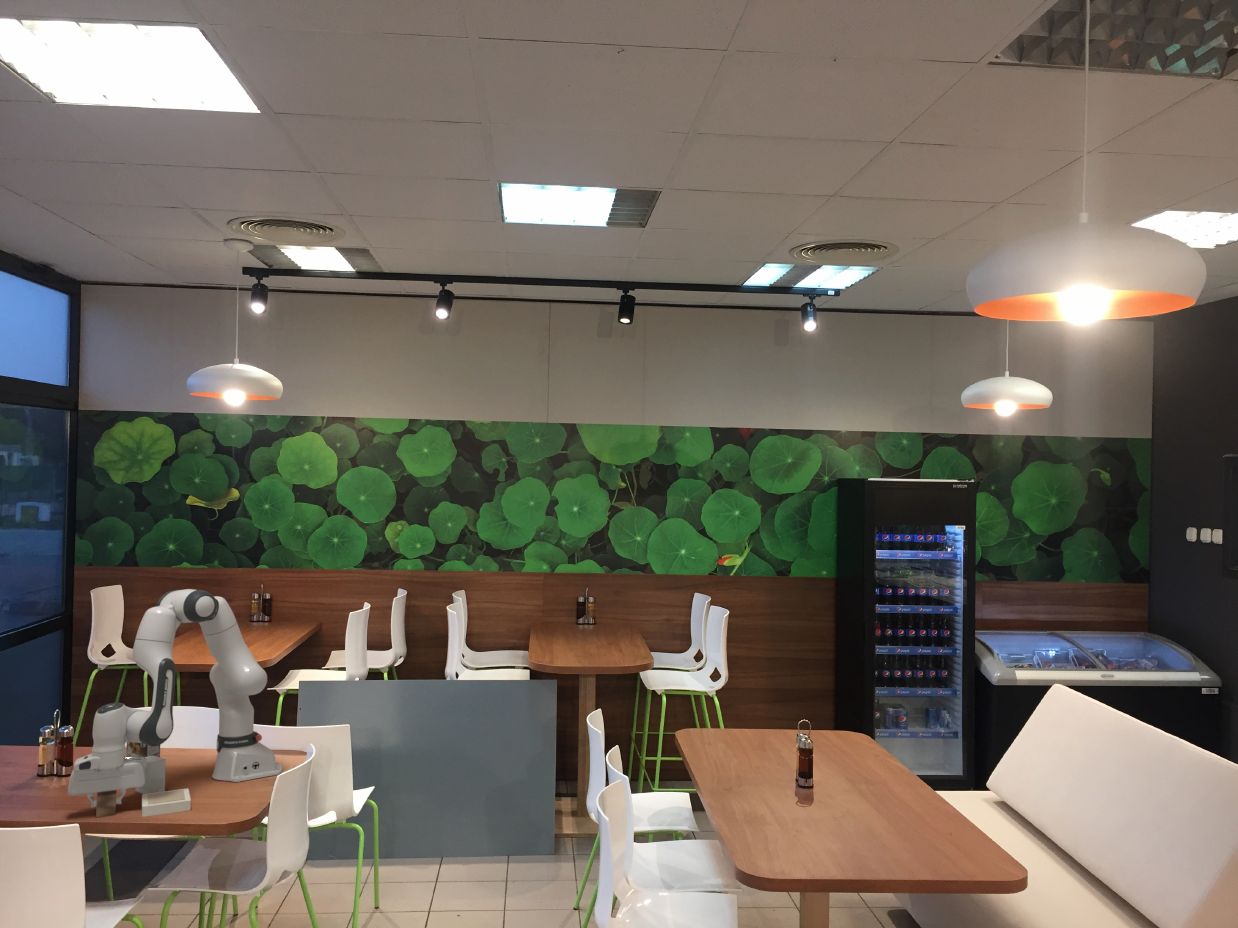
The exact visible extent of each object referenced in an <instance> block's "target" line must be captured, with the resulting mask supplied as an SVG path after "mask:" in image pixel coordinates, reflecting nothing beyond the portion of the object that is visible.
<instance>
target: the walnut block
mask: <svg viewBox="0 0 1238 928" xmlns="http://www.w3.org/2000/svg"><path fill="white" fill-rule="evenodd" d="M117 792H118V790H112V791H104V792H96V793H97V794H96V800H97V807H95V808H96V810H95V811H96V812H95V818H100V817H108V816H115V815H116V813H117V807H116V806H117V805H116V797H117Z"/></svg>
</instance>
